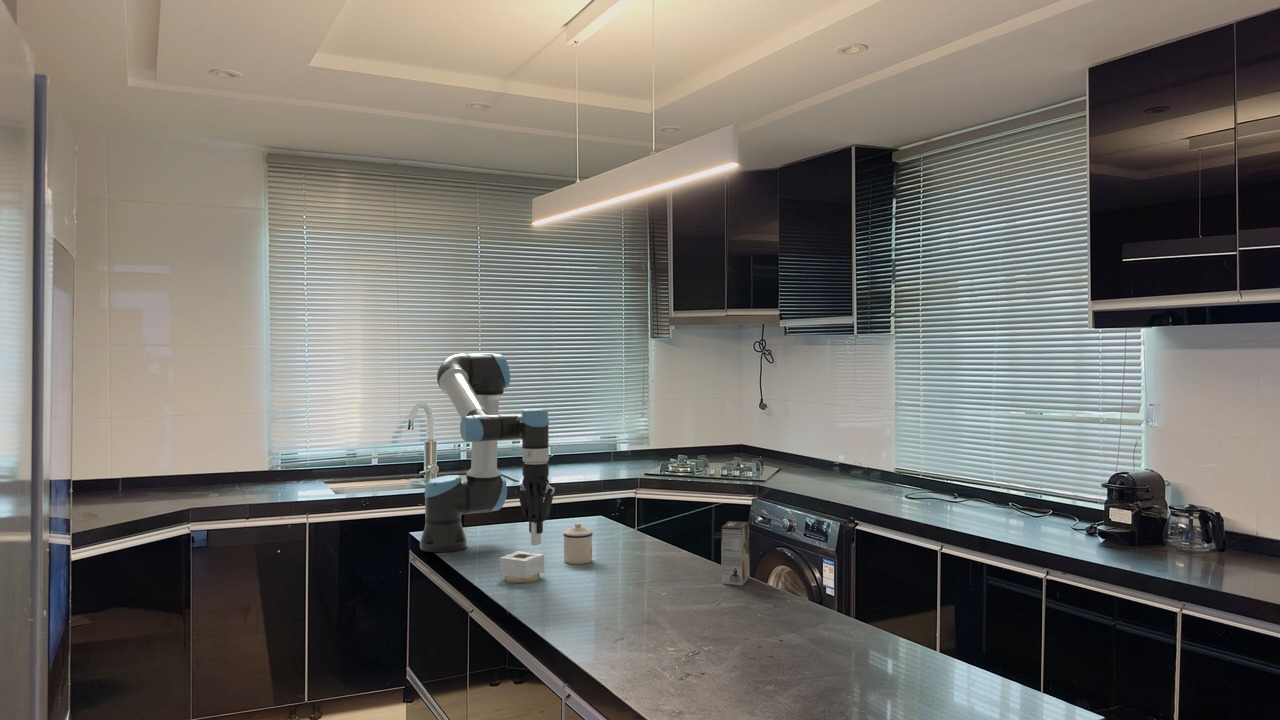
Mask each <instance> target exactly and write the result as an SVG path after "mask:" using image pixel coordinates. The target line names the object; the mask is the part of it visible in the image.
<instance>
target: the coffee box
mask: <svg viewBox="0 0 1280 720" xmlns="http://www.w3.org/2000/svg"><path fill="white" fill-rule="evenodd" d="M720 530H721V531H720V532H721V533H720V537H721V538H720V540H721V542H720V544H721V547H720V548H721V549H720V551H721V553H720V555H721V562H720V563H721V575H720V576H721V577H720V578H721V584H723V585H724V584H725V585H733V586H735V585H737V586H743V585H744V584H745V583H746V582H747V581H748V579H749V578H750V576H751V575H750V522H749V521H737V520H735V521H734V520H727V522H726V523H725V524H724V525H722V526H721V528H720ZM747 577H749V578H747Z"/></svg>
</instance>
